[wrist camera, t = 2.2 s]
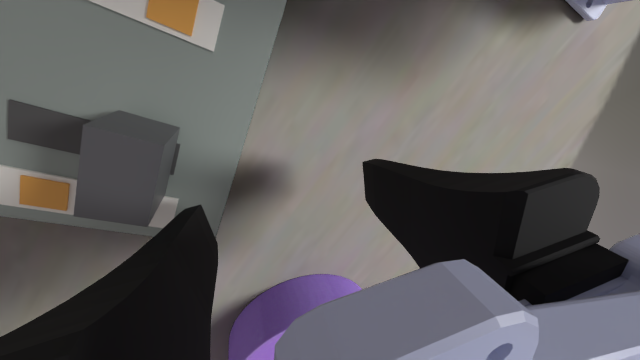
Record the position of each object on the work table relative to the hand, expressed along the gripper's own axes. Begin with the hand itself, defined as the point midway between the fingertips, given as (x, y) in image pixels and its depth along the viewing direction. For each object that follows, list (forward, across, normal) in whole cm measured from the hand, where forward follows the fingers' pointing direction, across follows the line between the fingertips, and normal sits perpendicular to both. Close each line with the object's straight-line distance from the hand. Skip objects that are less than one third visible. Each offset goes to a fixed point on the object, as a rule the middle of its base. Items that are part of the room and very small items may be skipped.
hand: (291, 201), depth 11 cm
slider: (+1, +5, -3) cm, 6 cm away
